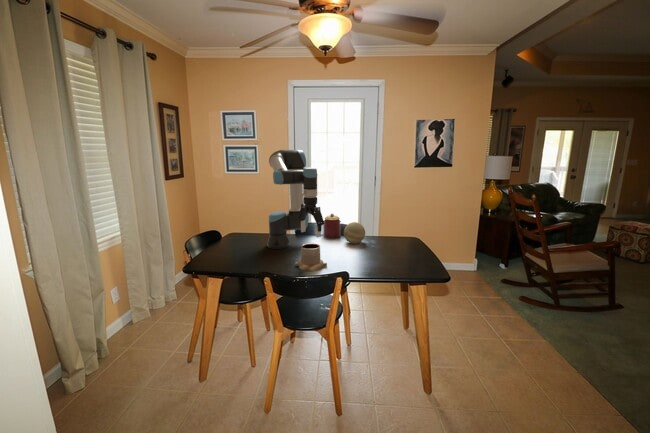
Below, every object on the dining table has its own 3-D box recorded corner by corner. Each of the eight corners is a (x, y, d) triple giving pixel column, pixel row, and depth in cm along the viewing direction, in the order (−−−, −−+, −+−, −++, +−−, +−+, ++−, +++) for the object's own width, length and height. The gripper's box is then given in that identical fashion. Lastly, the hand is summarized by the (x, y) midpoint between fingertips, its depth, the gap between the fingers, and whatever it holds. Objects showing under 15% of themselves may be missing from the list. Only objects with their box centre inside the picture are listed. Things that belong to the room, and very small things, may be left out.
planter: (319, 258, 180) (319, 242, 178) (321, 265, 169) (320, 248, 167) (301, 259, 179) (300, 243, 177) (301, 266, 168) (300, 249, 166)
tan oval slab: (293, 270, 168) (293, 266, 168) (297, 261, 182) (297, 257, 181) (326, 271, 167) (326, 267, 167) (327, 262, 181) (327, 258, 180)
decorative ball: (350, 238, 227) (351, 219, 223) (368, 242, 218) (369, 221, 215) (339, 243, 215) (339, 223, 212) (358, 247, 206) (358, 226, 203)
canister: (322, 238, 228) (322, 215, 224) (325, 233, 241) (325, 211, 237) (339, 239, 226) (339, 215, 222) (341, 234, 238) (341, 212, 235)
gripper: (291, 194, 173) (292, 230, 178) (320, 200, 155) (320, 240, 159) (301, 193, 178) (302, 228, 182) (331, 198, 159) (330, 237, 164)
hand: (310, 234), depth 171 cm, fingers open, 13 cm apart
